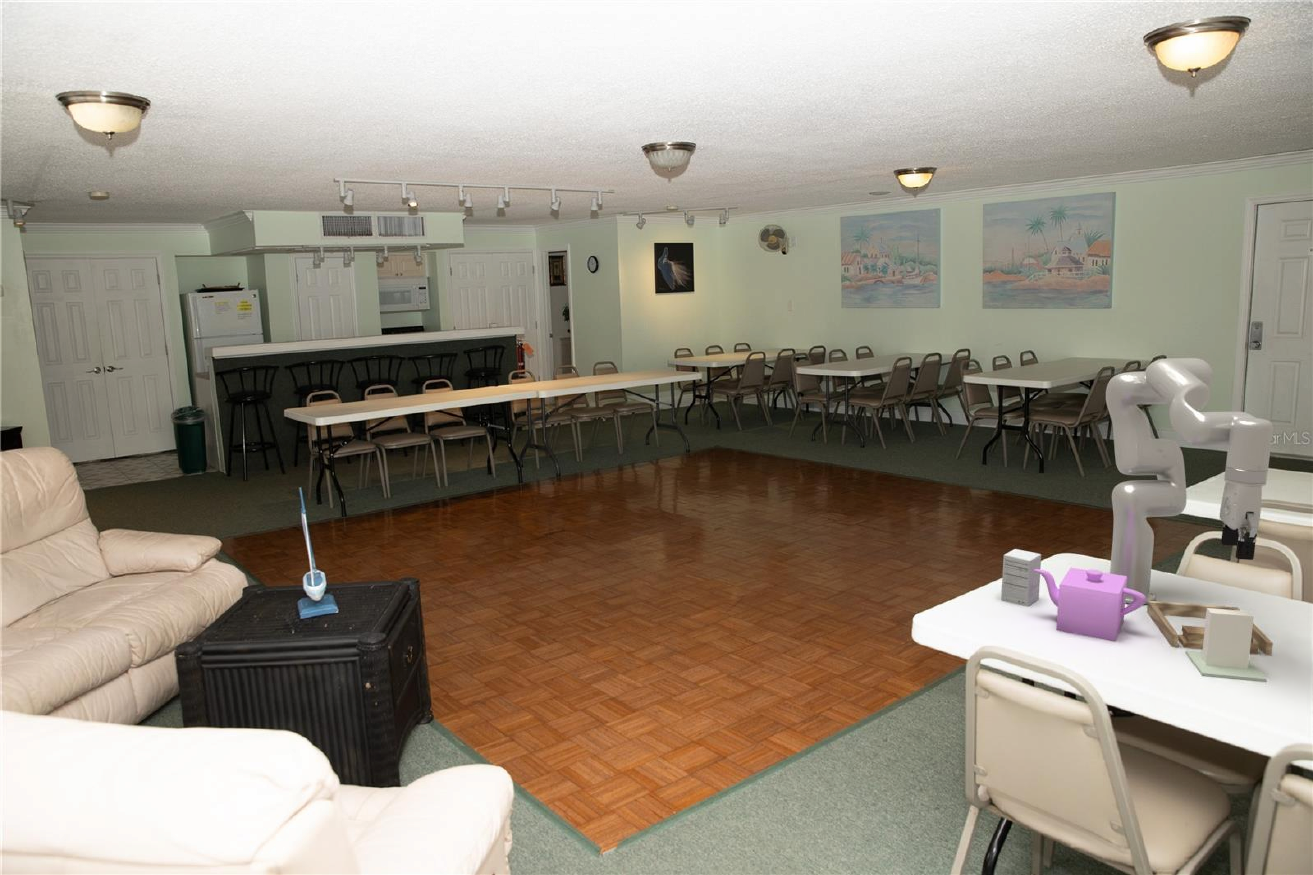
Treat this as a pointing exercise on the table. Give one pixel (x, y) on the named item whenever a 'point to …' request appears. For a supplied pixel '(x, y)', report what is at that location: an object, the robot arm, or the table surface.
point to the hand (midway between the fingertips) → (1236, 551)
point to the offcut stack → (1195, 638)
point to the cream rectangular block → (1227, 638)
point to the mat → (1225, 669)
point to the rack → (1194, 610)
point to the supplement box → (1021, 577)
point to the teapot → (1091, 602)
